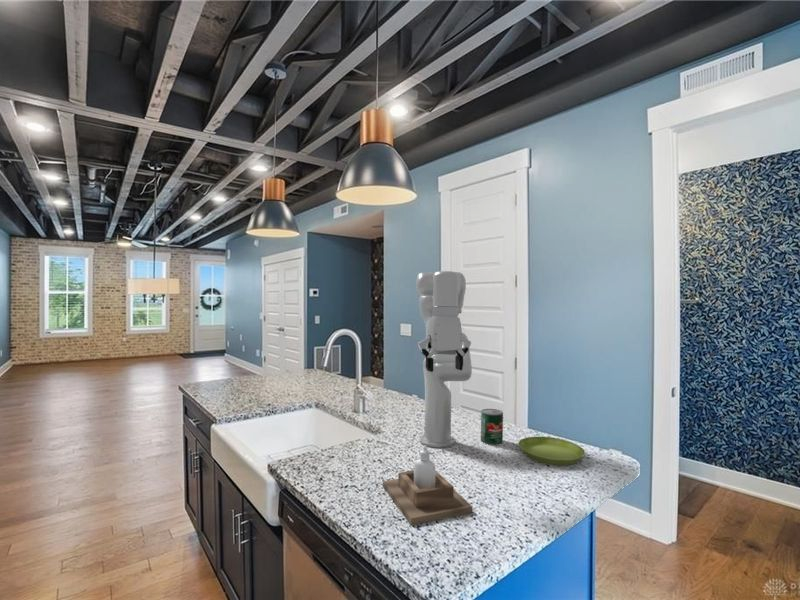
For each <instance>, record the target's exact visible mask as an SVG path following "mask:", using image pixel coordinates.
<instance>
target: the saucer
mask: <svg viewBox="0 0 800 600" xmlns="http://www.w3.org/2000/svg"><path fill="white" fill-rule="evenodd" d="M518 446H519V449H520V451H521V452H522V453H523V454H524V455H525V456H526V457H528V458H529V459H531V460H532V461H534V462H537V463H540V464H544V465H550V466H557V467H558V466H562V467H564V466H565V465H566V466H571V465H574V464H576V463H578V462H580V461H581V459H582V458H583V457H585V454H586V450H585V449H584V448H583V447H581V446H580V445H578V444H577V443H575V442H572V441H569V440H566V439H562V438H558V437H553V436H528V437H524V438H522V439H519V441H518Z"/></svg>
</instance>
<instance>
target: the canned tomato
mask: <svg viewBox="0 0 800 600" xmlns="http://www.w3.org/2000/svg"><path fill="white" fill-rule="evenodd" d="M503 429H504V411H503V410H500V409H497V408H484V409H481V410H480V442H481V443H482V442H483V443H482V444H484V443H485V444H484V445H487V444H488V446H500V444H501V445H503V443H504V442H503V435H504V430H503Z"/></svg>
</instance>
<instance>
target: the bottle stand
mask: <svg viewBox="0 0 800 600" xmlns="http://www.w3.org/2000/svg"><path fill="white" fill-rule="evenodd" d="M397 477H398V478H396V479H389V480H383V481H382V488H383V489H384V490H385V492H386V493H387V496H389V497H390V498H391V500H392V502H393V503H394V504H395V505H396V507H397V509H399V511H400V513H402V515H403V517H404V518H405V519H406V520H407V522H408V523H409V525H410V526H413V525H418V524H423V523H429V522H432V521H433V522H434V521H438V520H439V521H440V520H443V519H448V518H453V517H458V516H462V515H467V514H472V513H473V505H471V503H470V502H468V500H466V499H465V498H464V497H463V496H462V495H460V494H459V493H458V492H457V491H456V490H455V488H454V486H453V484H451V483H450V481H448V480H447V479H446V478H445V477H443V476H442V475H441V474H440V473H439V472H438V471H437V469H435V487H430V488H424V489H419V488H418V487H417V486H416V485H415V484H414V470H409V471H408V470H407V471H402V472H398V476H397Z"/></svg>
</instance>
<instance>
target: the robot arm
mask: <svg viewBox="0 0 800 600" xmlns="http://www.w3.org/2000/svg"><path fill="white" fill-rule="evenodd" d="M415 284H416V285H415V287H416V292H417V294H418V295H419V300H418V305H419V307H418V308H419V314H420V316H421V319H422V321H423V324H424V325H425V338H423V339H422V340H420V341H418V342H417V347H418V348H419V350H420V351H419V352H420V353H422V354H423V356H424V359H423V361H422V372H423V378H424V426H423V429H424V434H423V435H421V436H420V438H419V441H420V443H421V444H422V445H423V446H426V447H430V448H431V447H432V448H450V447H452V446H454V445H455V443H456V438H455V437H454V436H452V435H451V434H452V393H451V390H450V387H448V385H446V384H445V382H467V381H469V380H470V379H471V377H472V374H473V373H472V370H473V369H472V367H473V366H472V359H471V350H470V347H471V345H472V341H471V340H469V338H468V336H467V334H465V333H464V332H463V328H462V323H461V322H462V321H461V319H460V317H459V314H462V311H463V306H464V300H465V294H466V290H467V289H466V287H467V283H466V278H465V275H464V274H463V273H461V272H459V271H450V270H439V271H430V272H429V271H428V272H419V273H418V274H417V277H416V282H415ZM425 345H426V347H425Z"/></svg>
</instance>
